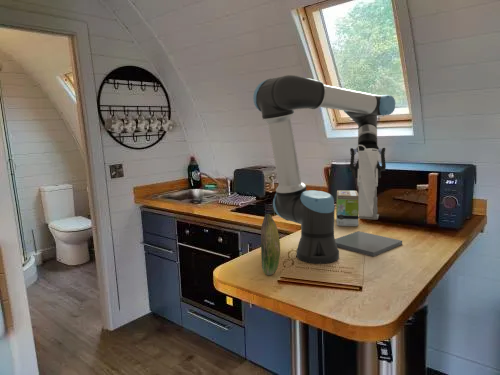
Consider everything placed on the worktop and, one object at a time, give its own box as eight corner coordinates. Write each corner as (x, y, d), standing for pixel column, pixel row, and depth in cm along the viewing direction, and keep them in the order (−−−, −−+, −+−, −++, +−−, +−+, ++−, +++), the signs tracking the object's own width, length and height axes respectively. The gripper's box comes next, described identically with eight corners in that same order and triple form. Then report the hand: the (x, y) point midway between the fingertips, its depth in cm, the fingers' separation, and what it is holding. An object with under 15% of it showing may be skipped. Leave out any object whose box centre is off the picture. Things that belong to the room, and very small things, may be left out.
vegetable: (280, 271, 127) (279, 212, 123) (281, 278, 120) (280, 216, 117) (261, 271, 127) (260, 212, 124) (261, 279, 121) (260, 217, 118)
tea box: (358, 226, 178) (359, 195, 176) (336, 226, 180) (336, 195, 178) (356, 218, 193) (357, 189, 191) (336, 218, 195) (336, 189, 193)
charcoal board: (373, 256, 138) (373, 252, 138) (328, 244, 153) (328, 241, 153) (402, 244, 150) (402, 240, 150) (358, 234, 166) (358, 231, 165)
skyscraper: (354, 218, 148) (355, 145, 144) (357, 213, 156) (358, 144, 151) (377, 219, 145) (379, 145, 140) (379, 214, 152) (381, 143, 148)
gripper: (391, 144, 158) (393, 190, 145) (344, 145, 163) (342, 189, 150) (392, 131, 152) (395, 178, 139) (343, 132, 157) (341, 178, 144)
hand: (367, 184), depth 145 cm, fingers closed on skyscraper, 6 cm apart
